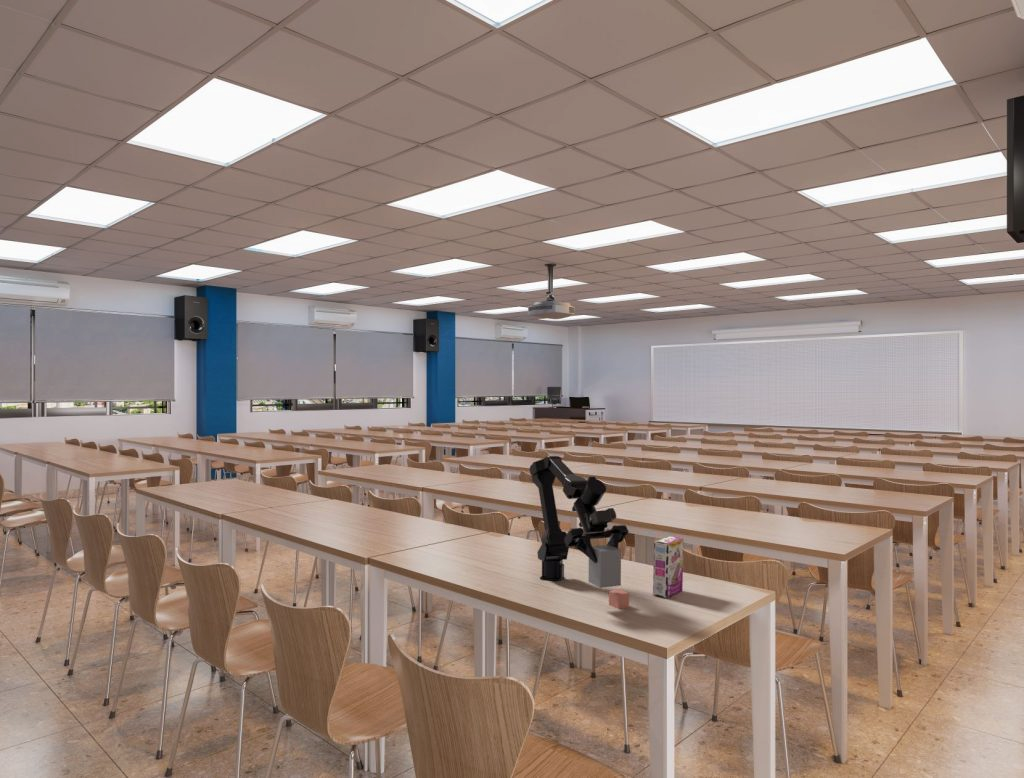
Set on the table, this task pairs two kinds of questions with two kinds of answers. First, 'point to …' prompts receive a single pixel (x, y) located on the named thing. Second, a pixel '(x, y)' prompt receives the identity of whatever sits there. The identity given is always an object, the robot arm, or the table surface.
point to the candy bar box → (668, 566)
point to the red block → (618, 599)
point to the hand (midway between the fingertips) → (607, 561)
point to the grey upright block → (605, 566)
